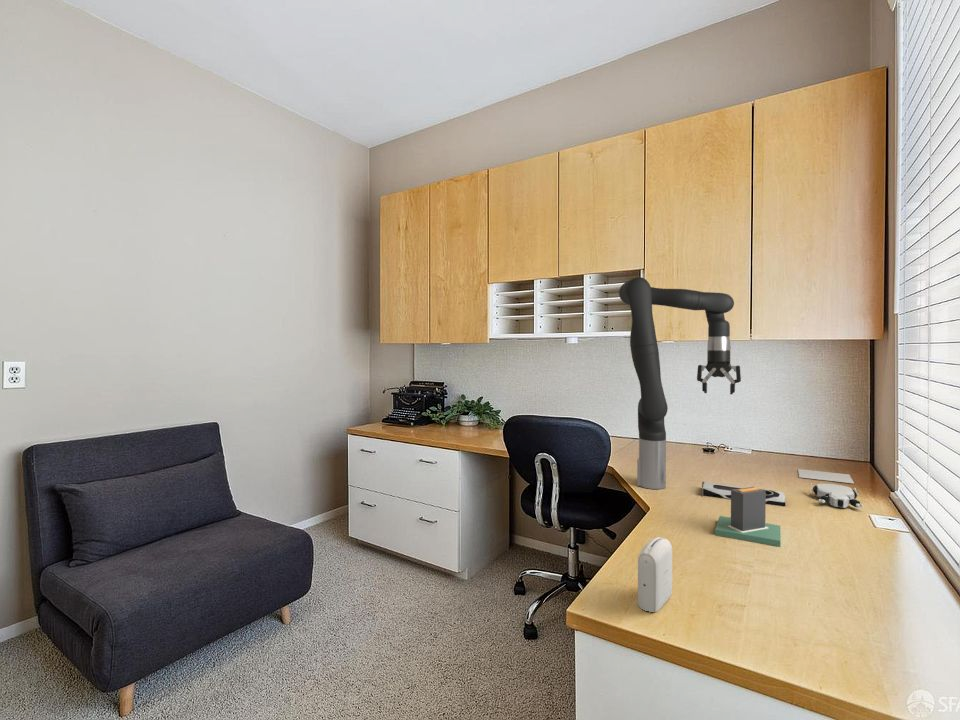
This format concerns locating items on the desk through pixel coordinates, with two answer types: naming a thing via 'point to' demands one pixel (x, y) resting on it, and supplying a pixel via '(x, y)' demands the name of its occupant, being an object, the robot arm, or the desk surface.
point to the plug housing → (748, 508)
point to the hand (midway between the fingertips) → (718, 393)
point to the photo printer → (654, 574)
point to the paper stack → (825, 476)
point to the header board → (749, 532)
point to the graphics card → (725, 490)
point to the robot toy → (836, 495)
